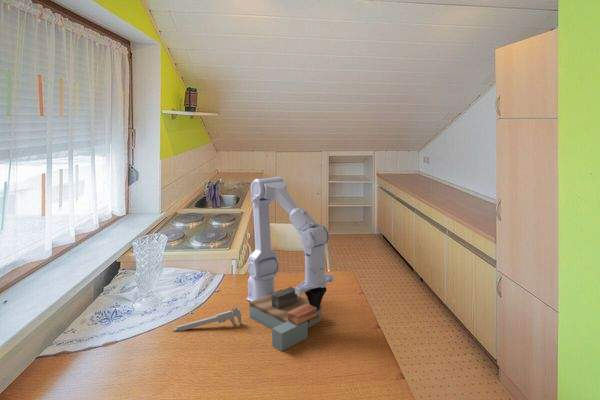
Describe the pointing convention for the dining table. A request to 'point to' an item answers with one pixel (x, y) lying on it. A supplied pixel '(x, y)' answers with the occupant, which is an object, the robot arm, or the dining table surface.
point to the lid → (281, 304)
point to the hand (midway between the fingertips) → (314, 310)
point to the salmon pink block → (302, 314)
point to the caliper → (213, 320)
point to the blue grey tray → (283, 329)
